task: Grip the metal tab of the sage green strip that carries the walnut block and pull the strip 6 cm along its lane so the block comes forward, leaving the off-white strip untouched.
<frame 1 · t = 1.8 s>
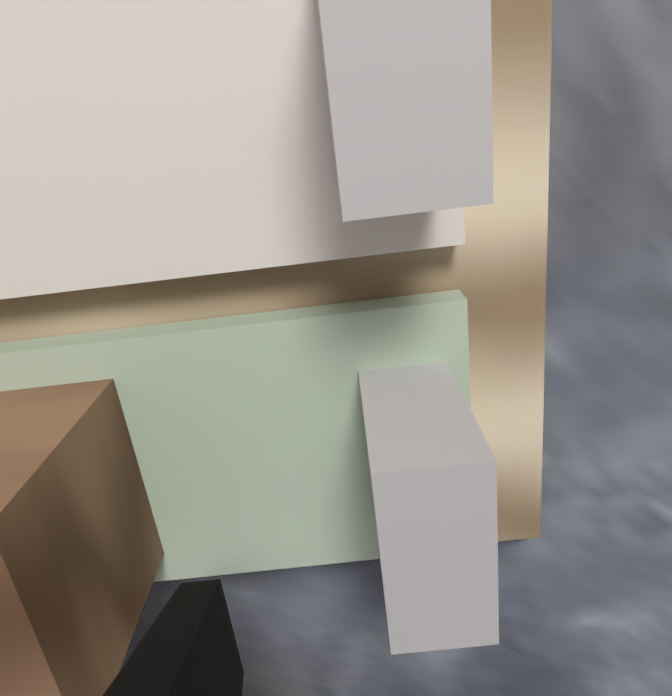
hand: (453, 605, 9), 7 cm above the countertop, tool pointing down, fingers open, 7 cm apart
white strip: (49, 107, 9), point 3 cm above the countertop, slide at 0.0 cm
walnut block: (39, 482, 14), point 2 cm above the countertop, touching green strip
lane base: (204, 282, 14), on the countertop
green strip: (163, 509, 12), point 3 cm above the countertop, slide at 0.0 cm, touching walnut block
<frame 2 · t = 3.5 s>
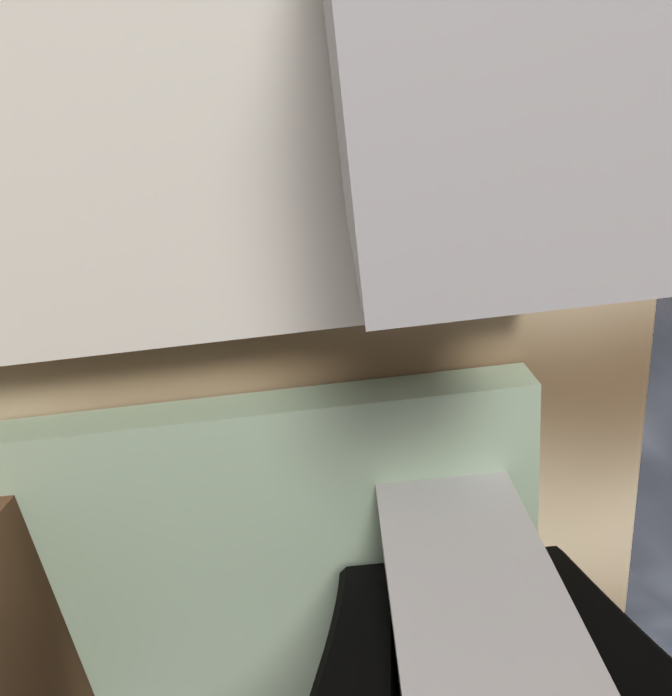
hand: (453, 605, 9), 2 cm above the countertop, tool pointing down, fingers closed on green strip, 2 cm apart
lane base: (154, 345, 10), on the countertop
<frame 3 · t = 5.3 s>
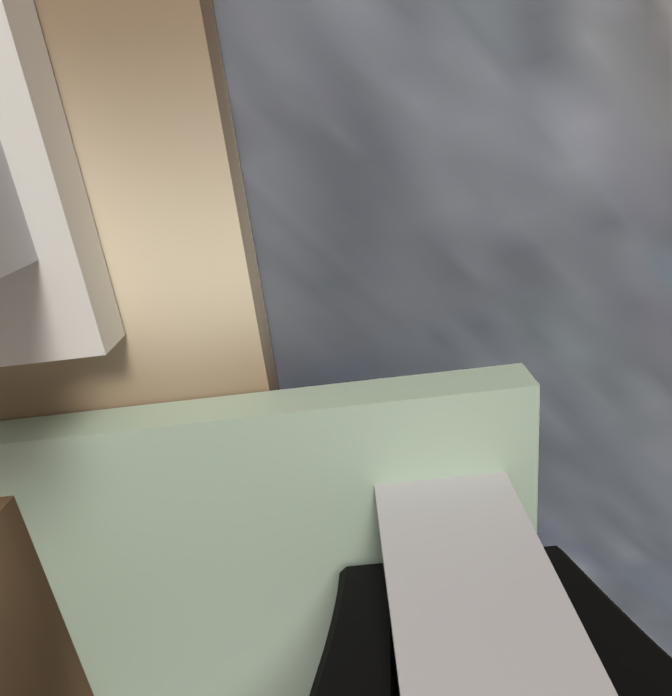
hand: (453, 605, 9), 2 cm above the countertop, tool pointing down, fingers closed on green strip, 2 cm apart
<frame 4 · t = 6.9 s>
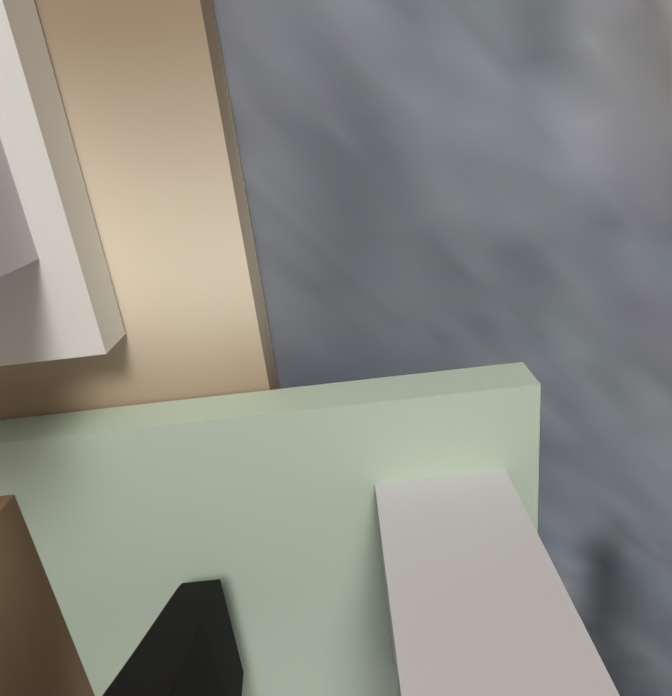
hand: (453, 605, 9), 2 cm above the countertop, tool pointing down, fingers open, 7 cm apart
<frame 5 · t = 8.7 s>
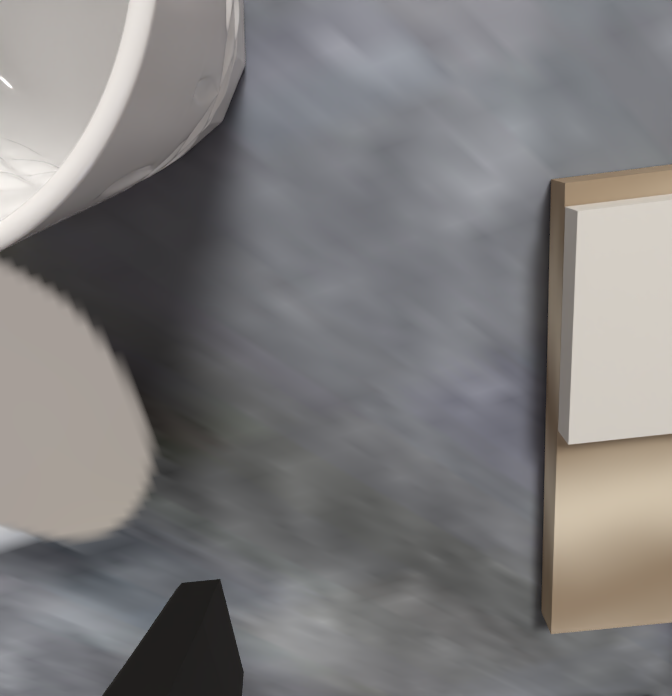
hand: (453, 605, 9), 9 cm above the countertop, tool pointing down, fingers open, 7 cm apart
white cup: (116, 29, 14), on the countertop
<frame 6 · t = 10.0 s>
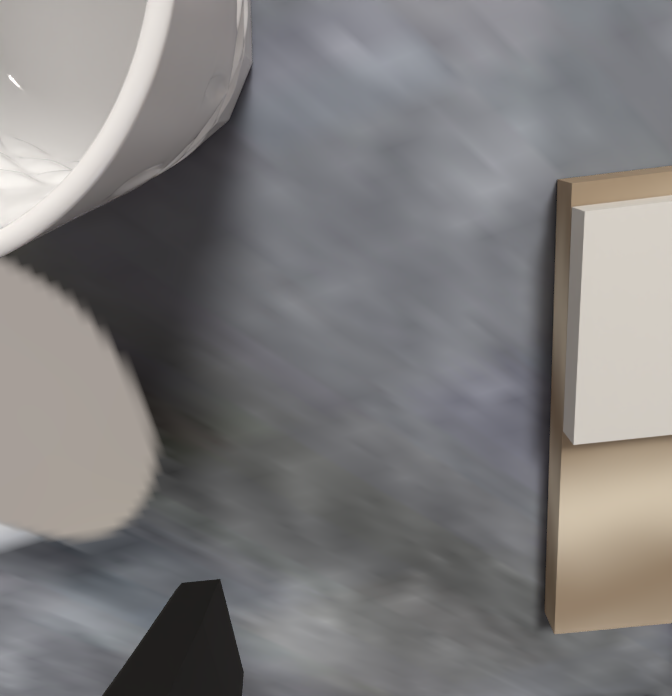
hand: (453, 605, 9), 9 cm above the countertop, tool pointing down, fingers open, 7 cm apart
white cup: (122, 27, 14), on the countertop
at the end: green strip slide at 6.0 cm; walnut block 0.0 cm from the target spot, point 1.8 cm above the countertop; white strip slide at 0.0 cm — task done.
